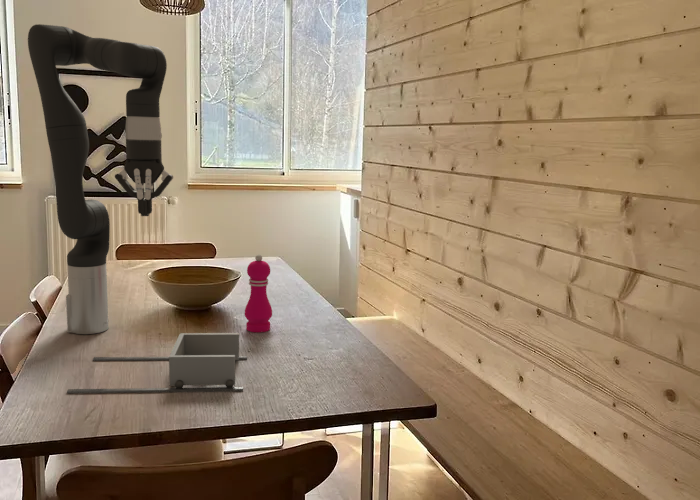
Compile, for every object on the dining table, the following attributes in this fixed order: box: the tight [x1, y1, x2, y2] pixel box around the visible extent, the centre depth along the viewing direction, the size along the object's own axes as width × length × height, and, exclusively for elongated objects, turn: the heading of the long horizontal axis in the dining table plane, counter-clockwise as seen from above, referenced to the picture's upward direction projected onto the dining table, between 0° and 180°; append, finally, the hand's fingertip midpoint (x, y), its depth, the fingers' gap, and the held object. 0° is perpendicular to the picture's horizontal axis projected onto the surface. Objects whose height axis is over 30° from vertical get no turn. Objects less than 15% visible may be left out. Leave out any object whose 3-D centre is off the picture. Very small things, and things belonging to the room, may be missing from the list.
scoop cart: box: [168, 332, 240, 388], centre depth 143 cm, size 13×18×6 cm
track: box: [66, 355, 248, 394], centre depth 143 cm, size 34×20×1 cm, turn 96°
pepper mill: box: [244, 254, 273, 333], centre depth 176 cm, size 7×7×20 cm
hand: (145, 215), depth 151 cm, fingers closed
